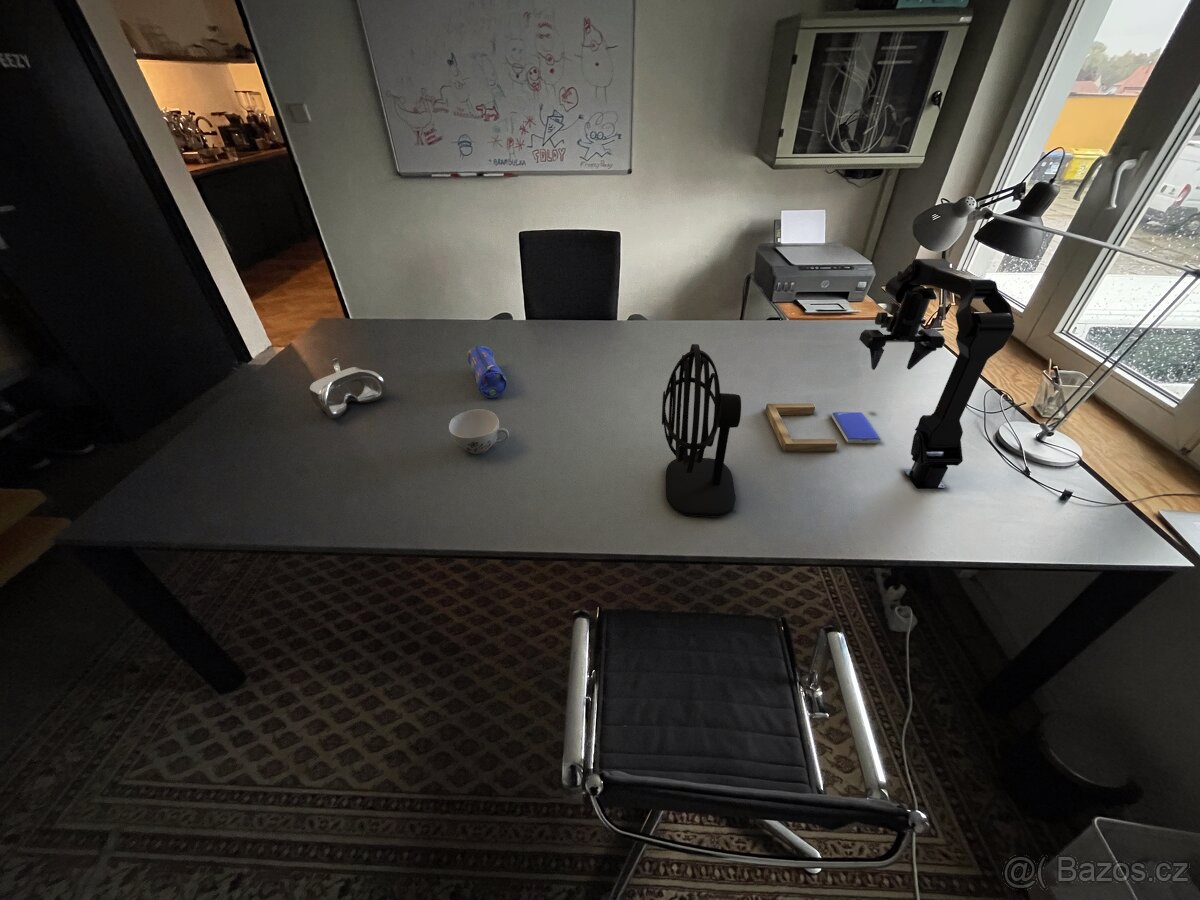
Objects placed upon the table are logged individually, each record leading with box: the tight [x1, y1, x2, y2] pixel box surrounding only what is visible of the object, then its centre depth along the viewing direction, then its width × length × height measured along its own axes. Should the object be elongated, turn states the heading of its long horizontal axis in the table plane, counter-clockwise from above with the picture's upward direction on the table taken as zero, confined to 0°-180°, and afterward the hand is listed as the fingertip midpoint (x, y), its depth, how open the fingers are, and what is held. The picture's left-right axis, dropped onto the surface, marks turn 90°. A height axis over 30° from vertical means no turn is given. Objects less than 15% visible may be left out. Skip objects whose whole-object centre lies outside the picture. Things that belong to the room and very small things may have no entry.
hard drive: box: [831, 411, 881, 444], centre depth 135 cm, size 2×8×12 cm
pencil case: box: [466, 345, 508, 399], centre depth 156 cm, size 22×9×10 cm, turn 22°
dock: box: [764, 402, 839, 453], centre depth 135 cm, size 19×13×2 cm
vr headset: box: [309, 357, 387, 419], centre depth 145 cm, size 18×11×14 cm, turn 139°
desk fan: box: [661, 343, 742, 518], centre depth 107 cm, size 27×18×35 cm, turn 174°
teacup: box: [448, 408, 510, 455], centre depth 129 cm, size 15×12×8 cm
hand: (890, 369), depth 132 cm, fingers open, 9 cm apart
